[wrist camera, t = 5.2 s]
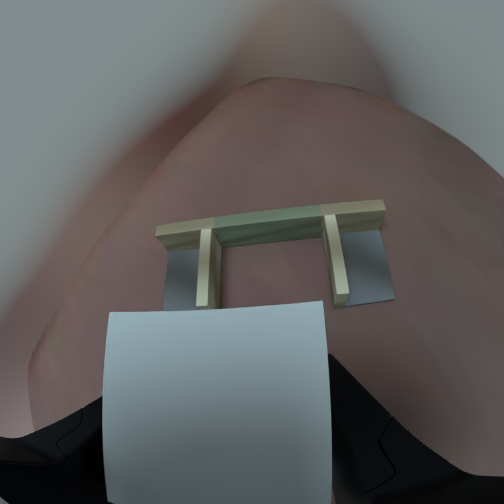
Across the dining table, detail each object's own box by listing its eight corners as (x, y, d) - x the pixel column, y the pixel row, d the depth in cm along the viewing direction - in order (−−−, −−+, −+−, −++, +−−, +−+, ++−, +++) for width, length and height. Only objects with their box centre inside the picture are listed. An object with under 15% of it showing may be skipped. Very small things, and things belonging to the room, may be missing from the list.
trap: (394, 299, 19) (406, 285, 17) (163, 319, 22) (145, 307, 19) (375, 220, 23) (382, 199, 20) (171, 243, 25) (156, 225, 23)
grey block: (315, 439, 12) (329, 530, 3) (232, 441, 13) (107, 501, 4) (311, 361, 15) (322, 300, 5) (230, 365, 15) (109, 311, 6)
